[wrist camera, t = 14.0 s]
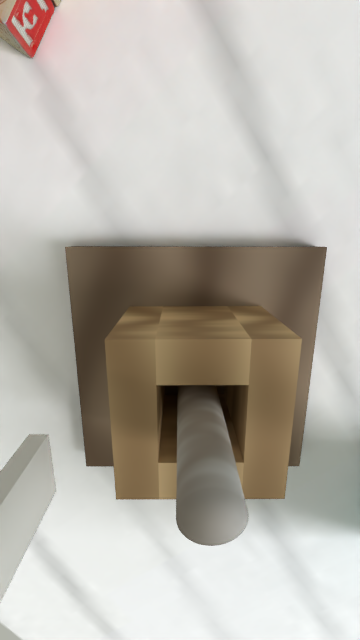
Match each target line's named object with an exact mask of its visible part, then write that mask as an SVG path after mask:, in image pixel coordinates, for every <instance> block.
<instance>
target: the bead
mask: <svg viewBox="0 0 360 640" xmlns="http://www.w3.org/2000/svg"><path fill="white" fill-rule="evenodd" d="M301 344H302V339H301V338H300V337H299V336H298V335H296V334H295V333H294V332H293V331H291V330H290V329H289V328H288V327H286V326H285V325H284V324H283V323H282V322H280V321H279V320H278V319H277V318H275V317H274V316H273V315H272V314H270V313H269V312H268V311H267V310H265V309H264V308H263V307H262V306H134V307H129V308H128V309H127V311H126V312H125V313H124V315H123V316H122V317H121V319H120V320H119V321H118V323H117V324H116V325H115V326H114V328H113V329H112V330H111V332H110V333H109V334H108V336H107V337H106V338H105V352H106V366H107V379H108V393H109V407H110V421H111V435H112V448H113V462H114V476H115V490H116V499H176V491H177V400H178V395H165V385H224V394H218V395H219V399H220V403H221V407H222V411H223V415H224V419H225V423H226V427H227V431H228V435H229V439H230V443H231V447H232V451H233V455H234V458H235V462H236V466H237V470H238V474H239V478H240V482H241V486H242V490H243V494H244V498H245V499H285V490H286V480H287V471H288V462H289V453H290V444H291V435H292V426H293V417H294V408H295V399H296V389H297V380H298V371H299V362H300V353H301Z"/></svg>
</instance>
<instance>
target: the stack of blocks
mask: <svg viewBox="0 0 360 640" xmlns="http://www.w3.org/2000/svg"><path fill="white" fill-rule="evenodd" d="M60 2H61V0H0V37H1V38H2V39H3V40H5V41H6V42H8V43H9V44H10V45H12V46H13V47H14V48H16V49H17V50H19V51H20V52H22V53H23V54H25V55H26V56H28V57H29V58H33V57H34V55H35V53H36V50H37V48H38V46H39V43H40V41H41V39H42V37H43V34H44V32H45V30H46V28H47V26H48V24H49V22H50V19H51V16H52V14H53V13H54V8H55V7H58V6H59V4H60Z"/></svg>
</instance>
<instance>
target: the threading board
mask: <svg viewBox="0 0 360 640" xmlns="http://www.w3.org/2000/svg"><path fill="white" fill-rule="evenodd" d="M65 249H66V260H67V270H68V280H69V291H70V301H71V311H72V322H73V332H74V343H75V353H76V363H77V374H78V384H79V394H80V405H81V415H82V425H83V436H84V446H85V457H86V466H114V462H113V448H112V435H111V421H110V407H109V393H108V379H107V366H106V352H105V338H106V337H107V336H108V334H109V333H110V332H111V330H112V329H113V328H114V326H115V325H116V324H117V323H118V321H119V320H120V319H121V317H122V316H123V315H124V313H125V312H126V311H127V309H128V308H129V307H134V306H262V307H263V308H264V309H265V310H267V311H268V312H269V313H270V314H272V315H273V316H274V317H275V318H277V319H278V320H279V321H280V322H282V323H283V324H284V325H285V326H286V327H288V328H289V329H290V330H291V331H293V332H294V333H295V334H296V335H298V336H299V337H300V338H301V339H302V344H301V353H300V362H299V371H298V380H297V389H296V399H295V408H294V417H293V426H292V435H291V444H290V453H289V462H288V466H299V464H300V456H301V448H302V441H303V433H304V425H305V417H306V409H307V401H308V393H309V385H310V377H311V369H312V361H313V353H314V346H315V338H316V330H317V322H318V314H319V306H320V298H321V290H322V282H323V274H324V266H325V258H326V251H327V247H116V246H72V247H65ZM218 394H224V385H165V395H178V400H177V491H176V522H177V525H178V528H179V530H180V531H181V533H182V534H183V535H184V536H185V537H186V538H188V539H189V540H191V541H193V542H195V543H198V544H201V545H208V546H214V545H221V544H225V543H228V542H230V541H232V540H234V539H235V538H237V537H238V536H239V535H240V534H241V533H242V532H243V531H244V529H245V527H246V525H247V522H248V510H247V506H246V502H245V498H244V494H243V490H242V486H241V482H240V478H239V474H238V470H237V466H236V462H235V458H234V455H233V451H232V447H231V443H230V439H229V435H228V431H227V427H226V423H225V419H224V415H223V411H222V407H221V403H220V399H219V395H218Z"/></svg>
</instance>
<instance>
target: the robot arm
mask: <svg viewBox="0 0 360 640" xmlns="http://www.w3.org/2000/svg"><path fill="white" fill-rule="evenodd" d="M55 492H56V485H55V478H54V471H53V464H52V457H51V449H50V442H49V435H37V434H29V435H28V437H27V438H26V439H25V440H24V442H23V443H22V444H21V446H20V447H19V448H18V450H17V451H16V452H15V453H14V455H13V456H12V457H11V459H10V460H9V461H8V462H7V464H6V465H5V466H4V468H3V469H2V470H1V471H0V603H1V601H2V599H3V597H4V594H5V592H6V590H7V588H8V586H9V584H10V582H11V580H12V578H13V576H14V574H15V572H16V570H17V568H18V566H19V564H20V562H21V560H22V558H23V556H24V554H25V552H26V550H27V548H28V546H29V544H30V542H31V540H32V538H33V536H34V534H35V532H36V530H37V528H38V526H39V524H40V522H41V520H42V518H43V516H44V514H45V512H46V510H47V508H48V506H49V504H50V502H51V500H52V498H53V496H54V494H55Z"/></svg>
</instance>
